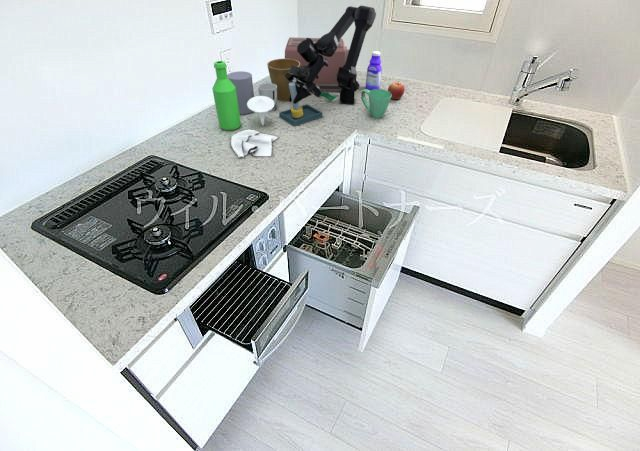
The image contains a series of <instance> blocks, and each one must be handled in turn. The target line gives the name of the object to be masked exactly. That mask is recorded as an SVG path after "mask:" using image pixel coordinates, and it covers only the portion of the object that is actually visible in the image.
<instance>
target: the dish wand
mask: <svg viewBox="0 0 640 451" xmlns="http://www.w3.org/2000/svg"><path fill="white" fill-rule="evenodd" d="M289 89H290V94H291V99H292V101H291V103H292V107H291V108H290V109H291V112H292V116H293V117H294V118H299V117H301V116H303V110H302V107H301V106H302V105H300V101H299V102H297V103H296V104H294V103H293V101H294V99H295V97H296V95H297V91H296V85H295V83H294V82H291V83H289Z"/></svg>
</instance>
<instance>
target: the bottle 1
mask: <svg viewBox="0 0 640 451" xmlns="http://www.w3.org/2000/svg"><path fill="white" fill-rule="evenodd" d="M213 68H214V69H215V74H216V79H215V82H214V84H213V86H212V94H213V100H214V106H215V111H216V115H217V121H218V126H219V128H221V129H222V130H224V131H235V130H237V129H239V128H240V127H241V126H242V121H241V114H239V107H238V100H237V94H236V87H235V86H234V85H233V83H232V82H231V81H230V80H229V79H228V77H227V75H228V73H227V72H228V71H227V64H226V62H225V61H224V60H218V61H214V62H213Z"/></svg>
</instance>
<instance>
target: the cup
mask: <svg viewBox="0 0 640 451" xmlns="http://www.w3.org/2000/svg"><path fill="white" fill-rule="evenodd" d="M257 89H258V94H259V95H258V96H266V97H269V98H271V99H272V100H273V101H274V107H273V108H272V109H271V110H269V111H268V112H273V111H274V110H276V106H277V101H278V97H277V85H275V84H272V82H267V83H266V82H265V83H261V84H258V86H257Z"/></svg>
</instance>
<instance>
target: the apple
mask: <svg viewBox="0 0 640 451" xmlns="http://www.w3.org/2000/svg"><path fill="white" fill-rule="evenodd" d="M405 89H406V87H405V85H404V84H403V83H401V82H400V81H395V82H394V81H393V82H392V83H390V84H389V86H388V87H387V91H389V92H390V95H391V94H392V96H391V99H394V100H398V99H400V98H402V97H403V96H404V94H405V91H406V90H405Z"/></svg>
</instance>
